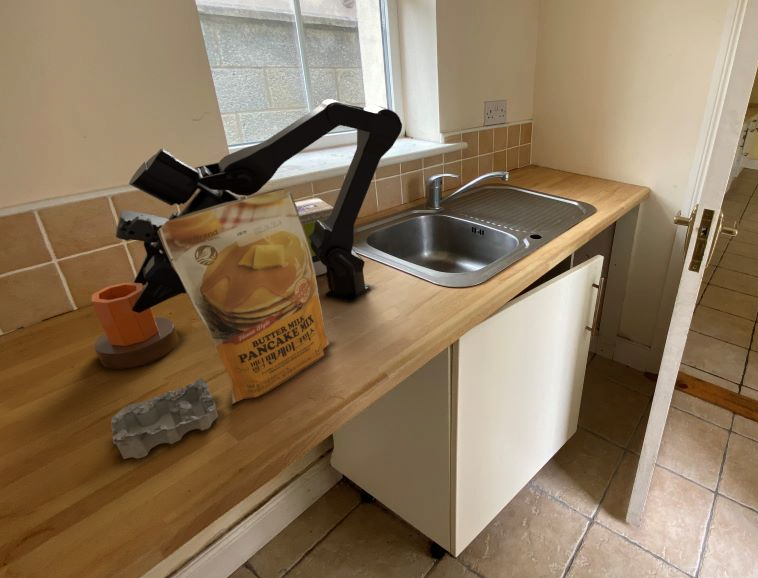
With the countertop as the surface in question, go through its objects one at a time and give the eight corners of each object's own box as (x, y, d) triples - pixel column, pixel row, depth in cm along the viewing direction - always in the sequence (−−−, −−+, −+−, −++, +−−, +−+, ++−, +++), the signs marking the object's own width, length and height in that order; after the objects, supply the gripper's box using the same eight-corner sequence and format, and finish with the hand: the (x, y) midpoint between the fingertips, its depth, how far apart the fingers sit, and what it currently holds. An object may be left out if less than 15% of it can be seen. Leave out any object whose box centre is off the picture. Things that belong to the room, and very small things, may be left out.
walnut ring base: (193, 338, 77) (188, 323, 76) (132, 374, 69) (125, 359, 67) (149, 327, 80) (143, 312, 78) (84, 361, 71) (77, 345, 70)
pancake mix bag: (204, 398, 65) (139, 219, 53) (318, 333, 80) (288, 182, 68) (232, 417, 62) (170, 231, 50) (344, 345, 77) (317, 190, 65)
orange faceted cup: (167, 325, 75) (152, 284, 72) (135, 347, 70) (117, 303, 66) (134, 322, 76) (117, 281, 72) (100, 343, 70) (80, 300, 67)
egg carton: (120, 468, 54) (107, 444, 52) (117, 430, 59) (105, 407, 57) (223, 424, 61) (214, 402, 59) (212, 394, 66) (204, 372, 64)
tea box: (329, 253, 109) (319, 195, 102) (347, 268, 103) (337, 207, 96) (261, 272, 99) (245, 209, 93) (276, 289, 93) (260, 223, 86)
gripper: (144, 177, 73) (78, 252, 72) (145, 210, 60) (64, 304, 59) (214, 213, 81) (156, 282, 80) (228, 250, 68) (158, 333, 67)
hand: (135, 298), depth 71 cm, fingers open, 9 cm apart
